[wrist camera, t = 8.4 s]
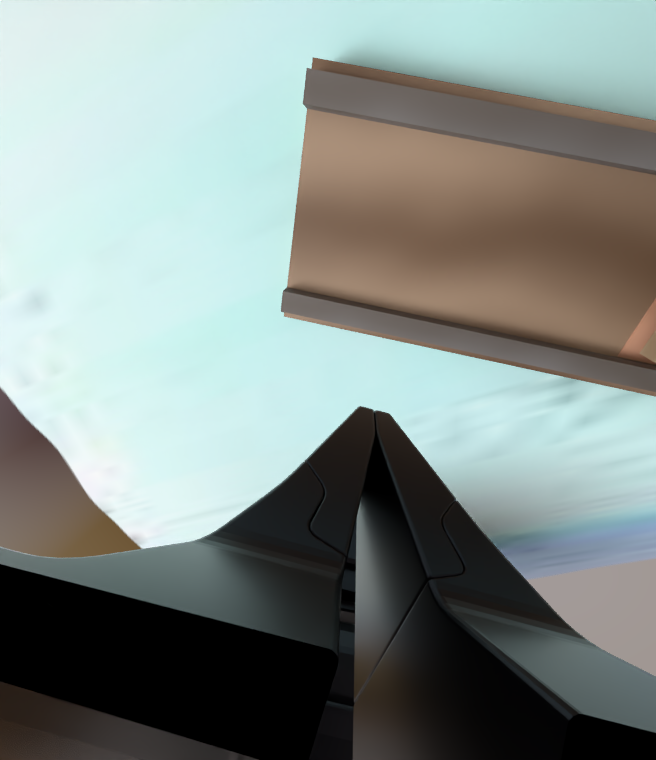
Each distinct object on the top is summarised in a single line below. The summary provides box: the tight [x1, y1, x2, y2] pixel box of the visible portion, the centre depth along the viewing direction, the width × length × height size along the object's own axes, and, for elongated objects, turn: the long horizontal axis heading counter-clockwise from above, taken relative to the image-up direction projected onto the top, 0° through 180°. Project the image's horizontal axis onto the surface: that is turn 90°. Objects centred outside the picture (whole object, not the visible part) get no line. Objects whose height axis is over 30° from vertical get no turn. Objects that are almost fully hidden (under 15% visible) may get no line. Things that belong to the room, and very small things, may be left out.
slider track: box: [281, 58, 656, 396], centre depth 14 cm, size 10×30×5 cm, turn 80°
